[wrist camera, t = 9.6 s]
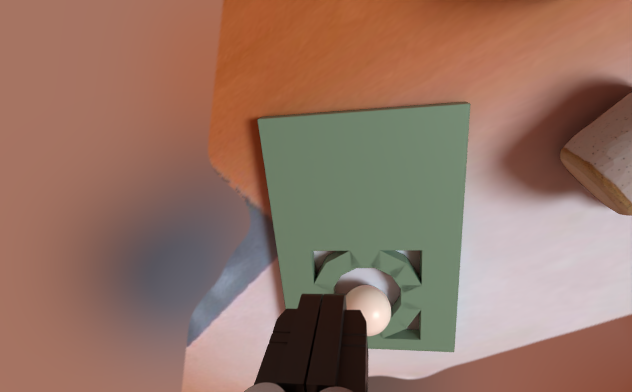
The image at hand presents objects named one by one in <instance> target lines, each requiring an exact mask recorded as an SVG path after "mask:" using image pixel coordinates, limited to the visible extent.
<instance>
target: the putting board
mask: <svg viewBox="0 0 632 392" xmlns="http://www.w3.org/2000/svg"><path fill="white" fill-rule="evenodd" d="M469 116H470V103H468V102H454V103H441V104H428V105H414V106H401V107H387V108H374V109H360V110H347V111H333V112H320V113H306V114H293V115H279V116H266V117H261V118H259V119H258V126H259V133H260V139H261V146H262V153H263V160H264V166H265V173H266V180H267V186H268V193H269V200H270V207H271V213H272V220H273V227H274V233H275V240H276V247H277V254H278V260H279V267H280V274H281V280H282V287H283V294H284V301H285V307H286V309H287V308H290V309H297V308H298V304H299V301H300V297H301V295H302V294H323V295H324V294H336V292H335V285H336V283H337V281H338V280H339V278H340V276H341V275H343V274H345V273H347V272H349V271H351V270H353V269H355V268H376V269H378V270H380V271H382V272H384V273H387V274H389V275H391V276H392V277H393V279H394V280H395V281H396V283H397V284H398V286H399V287H400V297H399V298H398V299H397V301H396V302H395V304H394V305H393V306H392V308H391V318H390V321H389V323H388V325H387V327H386V328H385V329H384V330H383V331H382V332H380V333H379V334H377V335H374V336H367V341H368V348H369V349H392V350H416V351H439V352H454V347H455V332H456V316H457V301H458V285H459V270H460V255H461V239H462V224H463V209H464V193H465V178H466V162H467V147H468V132H469ZM395 250H420V276H419V275H418V273H417V272H416V271H415V269H414V268H413V266H412V265H411V263H410V262H409V260H408V259H407V257H406V256H405V255H403V254H401V253H399V252H397V251H395ZM313 251H335V252H334V253H332V254H330V255H328V256H327V258H326V259H325V261H324V263H323V265H322V266H321V268H320V270H319V272H318V273H317V275H316V271H315V261H314V252H313ZM418 313H419V330H408V329H407V327H408V326H409V325H410V323H411V322H412V321H413V319H414V318H415V317H416V316H417V314H418Z"/></svg>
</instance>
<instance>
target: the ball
mask: <svg viewBox="0 0 632 392" xmlns="http://www.w3.org/2000/svg"><path fill="white" fill-rule="evenodd" d="M346 305H347V310H361V312H362V314H363V316H364V318H365V320H366V323H367V336H374V335H377V334H379V333H380V332H382V331H383V330H384V329H385V328H386V327H387V325H388V323H389V321H390V318H391V306H390V303H389V300H388V298H387V297H386V295H385V294H384V293H383V292H382V291H381V290H379V289H378V288H376V287H374V286H370V285H361V286H357V287H355V288H353V289H352V290H351V291H350V292H349V293H348V294H347V295H346Z"/></svg>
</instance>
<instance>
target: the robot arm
mask: <svg viewBox="0 0 632 392" xmlns="http://www.w3.org/2000/svg"><path fill="white" fill-rule="evenodd" d="M244 392H368V341H367V323H366V320H365V318H364V316H363V314H362V312H361V310H347V305H346V295H345V294H324V295H323V294H302V295H301V297H300V301H299V304H298V308H297V309H290V308H287V309H286V310H285V311H284V312H283V313H282V314H281V315H280V316H279V318H278V319H277V321H276V324H275V327H274V330H273V334H272V335H271V338H270V341H269V344H268V347H267V349H266V352H265V355H264V358H263V361H262V364H261V366H260V369H259V372H258V375H257V378H256V381H255V383H254V385H253V386H251V387H250V388H248V389H247V390H245V391H244Z"/></svg>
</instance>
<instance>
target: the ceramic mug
mask: <svg viewBox="0 0 632 392" xmlns="http://www.w3.org/2000/svg"><path fill="white" fill-rule="evenodd" d="M560 160H561V162H562V163H563V165H564V166H565V167H566V168H567V169H568V171H569V172H570V173H571V174H572V175H573V176H574V177H575V178H576V179H577V180H578V181H579V182H580V183H581V184H582V185H583V186H584V187H585V188H586V189H587V190H588V191H589V192H591V193H592V194H593V195H594V196H595V197H596V198H597V199H599V200H600V201H601V202H602V203H603V204H605V205H606V206H607V207H609V208H610V209H612V210H613V211H615V212H617V213H618V214H622V215H632V92H631V93H629V94H628V95H627V96H625V97H624V98H623V99H622V100H620V101H619V102H618V103H616V104H615V105H614V106H612V107H611V108H610V109H609V110H607V111H606V112H605V113H604V114H602V115H601V116H600V117H599V118H597V119H596V120H595V121H593V122H592V123H591V124H589V125H588V126H586V127H585V128H584V129H582V130H581V131H580V132H578V133H577V134H576V135H575V136H574V137H572V139H571V140H570V141H569V142H568V143H567V144H566V145H565V146H564V147H563V148H562V149H561V151H560Z"/></svg>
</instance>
